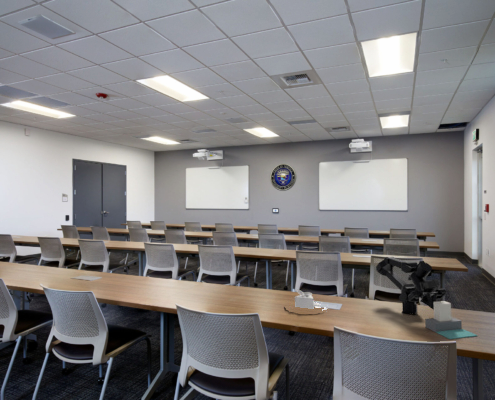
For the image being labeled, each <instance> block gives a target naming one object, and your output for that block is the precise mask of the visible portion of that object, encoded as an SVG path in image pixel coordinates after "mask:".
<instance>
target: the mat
mask: <svg viewBox="0 0 495 400" xmlns="http://www.w3.org/2000/svg"><path fill="white" fill-rule="evenodd" d="M435 333H436V334H439V335H441V336H442V337H444V338H446V339H448V340H456V339H465V338H472V337H478V335H477V334H475V333H474V332H472V331H468V330H467V329H464V328H462V329H456V330H447V331H438V332H435Z"/></svg>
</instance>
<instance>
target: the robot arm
mask: <svg viewBox="0 0 495 400" xmlns="http://www.w3.org/2000/svg"><path fill="white" fill-rule="evenodd" d="M395 267H396V268H399V269H401V271H402V272H404V273H405V274H409V275H408V278H407V280H408V281H411V282H412V283H407V282H405V280H403V279H402V278H401V277H400V276H399V275H398V274H397V273H396V272H395V271H394V268H395ZM375 268H376V269H375V270H376V272H377V273H378V274H379V275H381V276H384V277H387V279H388V280H390V282H391V283H393V284H394V285H395V286H396V287H397V288H398V289H399V290H400V295H399V296H398V300H399V301H400V302H401V303H402V304H401V305H402V306H401V307H402V311H401V313H402V314H407V315H413V316H415V315H416V314H417V313H418V303H422V304H424V305H426V306H428V307H429V308H430V309H432V310H433V311H434V302H437V300H442V299H443V298H444V297H445V296H446V295H447V294H448V292H447V290H446V289H445V288H439V286H441V284H440V282H439V280H438V279H435V278H434V279H432V280H428V281H427V280H426V279H425V278H427V276H428V275H429V274H430V272H432V270H433V267H432V265H431V264H429V263H427V262H425V261H424V260H420V261H419V262H417V261H406V260H403V259H402V260H401V259H399V258H396V257H394V256H386V257H384V258H383V259H382V260H381V261H380V262H378V264H377V265H376V266H375ZM434 290H435V291H434ZM417 302H418V303H417Z"/></svg>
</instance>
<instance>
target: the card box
mask: <svg viewBox="0 0 495 400" xmlns="http://www.w3.org/2000/svg"><path fill="white" fill-rule="evenodd" d="M451 317H452V303H451V302H448V301H445V300H441V301H436V302H434V310H433V318H434V319H436V320H438V321H440V322H441V321H451Z"/></svg>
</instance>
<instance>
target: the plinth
mask: <svg viewBox="0 0 495 400" xmlns="http://www.w3.org/2000/svg"><path fill="white" fill-rule="evenodd" d="M424 320H425V328H426V329H428V330H430V331H432V332H434V333H436V332H438V331H447V330H456V329H463V327H462V325H463V324H462V319H458V318H456V317H453V316H451V321H441V322H440V321H438V320H436V319H434V317H431V318H430V317H429V318H425V319H424Z"/></svg>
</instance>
